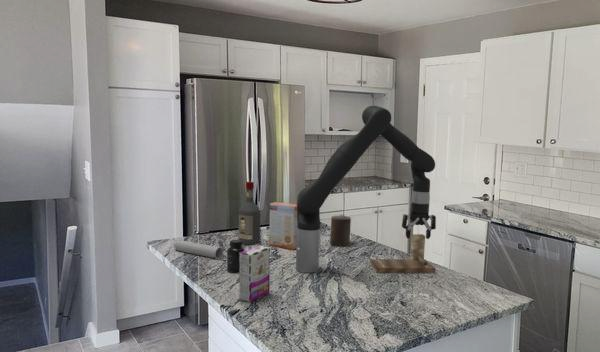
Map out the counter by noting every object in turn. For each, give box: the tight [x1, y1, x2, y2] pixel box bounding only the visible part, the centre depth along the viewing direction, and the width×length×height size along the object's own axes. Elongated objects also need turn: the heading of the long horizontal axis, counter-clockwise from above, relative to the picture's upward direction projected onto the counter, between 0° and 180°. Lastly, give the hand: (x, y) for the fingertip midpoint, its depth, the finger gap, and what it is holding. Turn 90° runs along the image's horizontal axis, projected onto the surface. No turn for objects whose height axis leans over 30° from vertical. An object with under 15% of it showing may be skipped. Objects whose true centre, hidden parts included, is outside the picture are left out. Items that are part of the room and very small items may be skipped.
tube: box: [174, 239, 224, 260], centre depth 207 cm, size 5×5×25 cm
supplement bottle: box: [226, 239, 246, 274], centre depth 185 cm, size 7×7×12 cm
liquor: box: [238, 181, 261, 246], centre depth 227 cm, size 9×9×30 cm
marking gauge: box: [410, 233, 428, 265], centre depth 197 cm, size 5×13×12 cm, turn 4°
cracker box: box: [268, 201, 297, 251], centre depth 222 cm, size 14×6×21 cm, turn 58°
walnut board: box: [370, 258, 436, 274], centre depth 194 cm, size 24×12×2 cm, turn 94°
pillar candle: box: [329, 215, 352, 248], centre depth 229 cm, size 10×10×15 cm
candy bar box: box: [239, 245, 271, 303], centre depth 158 cm, size 11×5×16 cm, turn 148°
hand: (417, 238), depth 202 cm, fingers open, 8 cm apart
